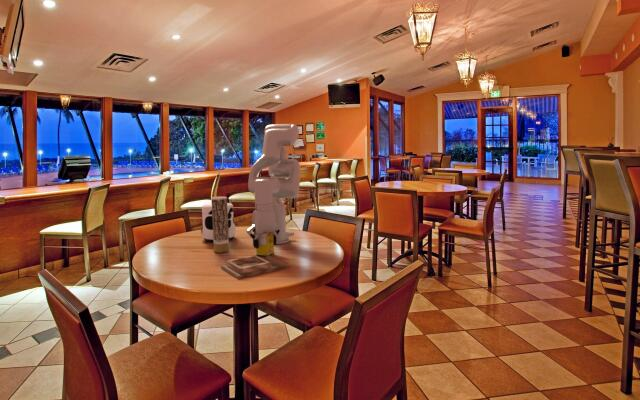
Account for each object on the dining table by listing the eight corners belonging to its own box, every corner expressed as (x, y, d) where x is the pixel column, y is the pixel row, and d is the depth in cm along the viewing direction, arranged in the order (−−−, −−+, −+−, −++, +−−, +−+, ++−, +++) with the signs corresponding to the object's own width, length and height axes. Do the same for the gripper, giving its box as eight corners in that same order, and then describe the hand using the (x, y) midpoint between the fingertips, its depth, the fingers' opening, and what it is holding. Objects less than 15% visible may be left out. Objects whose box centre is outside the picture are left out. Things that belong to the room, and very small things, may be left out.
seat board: (269, 258, 170) (269, 251, 170) (289, 267, 157) (289, 259, 157) (221, 268, 157) (220, 260, 157) (238, 279, 145) (237, 270, 144)
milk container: (215, 234, 217) (213, 201, 214) (242, 236, 210) (241, 203, 208) (194, 241, 201) (192, 206, 198) (223, 244, 194) (221, 208, 192)
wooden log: (225, 253, 178) (222, 198, 175) (211, 252, 180) (208, 198, 176) (231, 249, 185) (229, 196, 182) (218, 248, 186) (215, 196, 183)
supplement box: (274, 253, 177) (273, 229, 176) (268, 257, 172) (267, 232, 170) (262, 252, 179) (261, 229, 178) (256, 256, 174) (255, 231, 172)
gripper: (277, 204, 181) (277, 241, 183) (241, 208, 170) (243, 247, 173) (285, 206, 175) (286, 244, 177) (249, 210, 164) (250, 251, 167)
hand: (265, 246), depth 175 cm, fingers closed on supplement box, 8 cm apart
